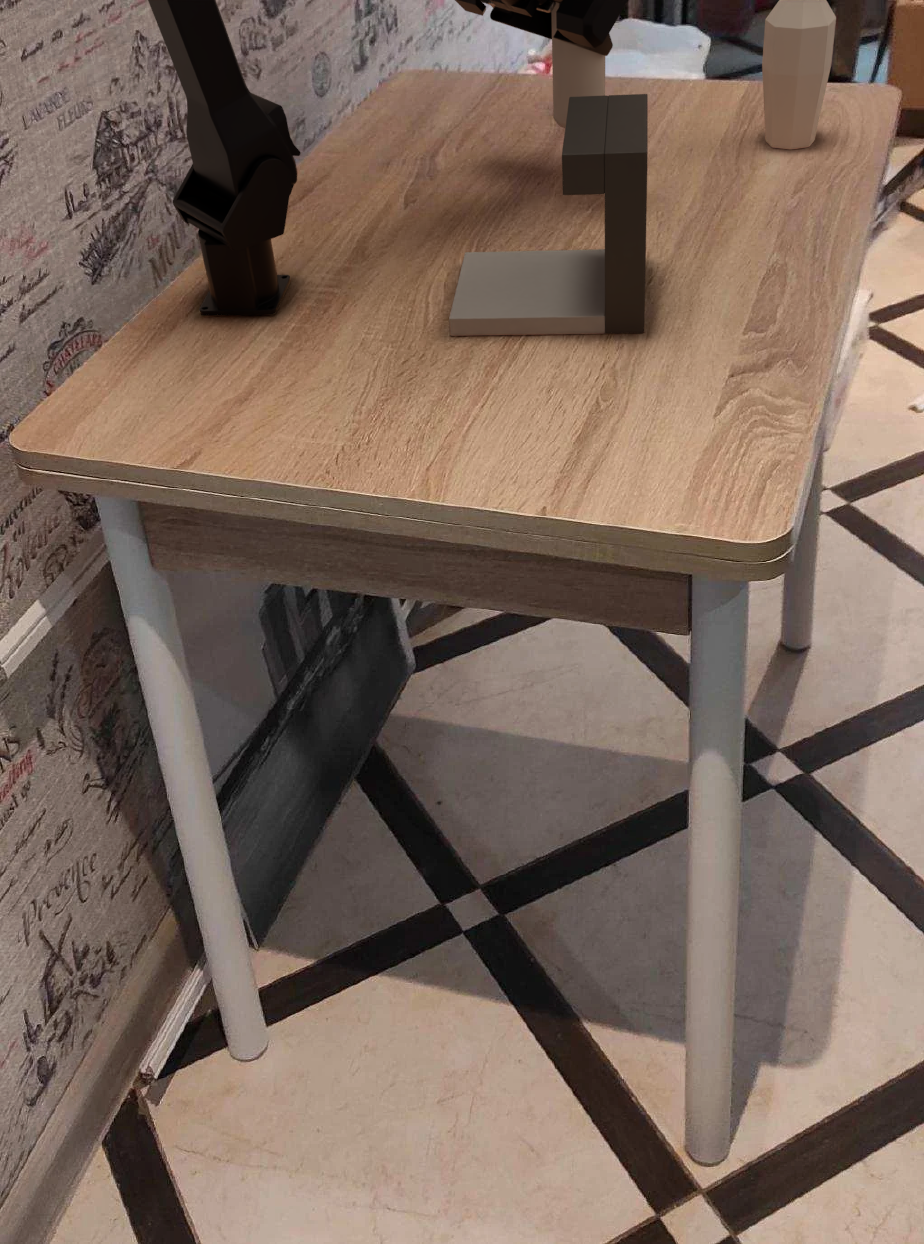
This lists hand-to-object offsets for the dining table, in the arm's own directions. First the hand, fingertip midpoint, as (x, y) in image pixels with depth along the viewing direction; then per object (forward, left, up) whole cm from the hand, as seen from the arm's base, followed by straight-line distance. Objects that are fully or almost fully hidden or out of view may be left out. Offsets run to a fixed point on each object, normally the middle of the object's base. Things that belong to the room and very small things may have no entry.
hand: (590, 45), depth 121 cm
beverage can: (-1, +1, -7) cm, 7 cm away
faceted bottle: (+5, -19, -11) cm, 23 cm away
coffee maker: (-28, +2, -11) cm, 30 cm away
